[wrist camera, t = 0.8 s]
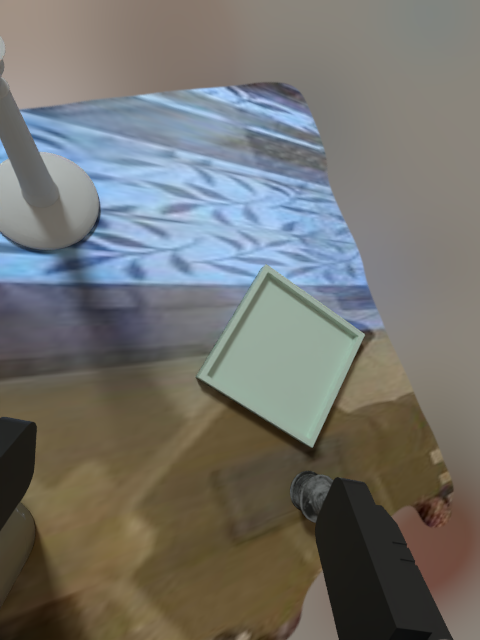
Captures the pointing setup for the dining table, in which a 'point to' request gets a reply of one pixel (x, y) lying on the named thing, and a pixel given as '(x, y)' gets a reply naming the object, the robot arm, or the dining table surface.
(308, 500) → the dark grey chess piece
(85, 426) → the dining table surface
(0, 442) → the robot arm
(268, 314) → the tray
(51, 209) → the candlestick
